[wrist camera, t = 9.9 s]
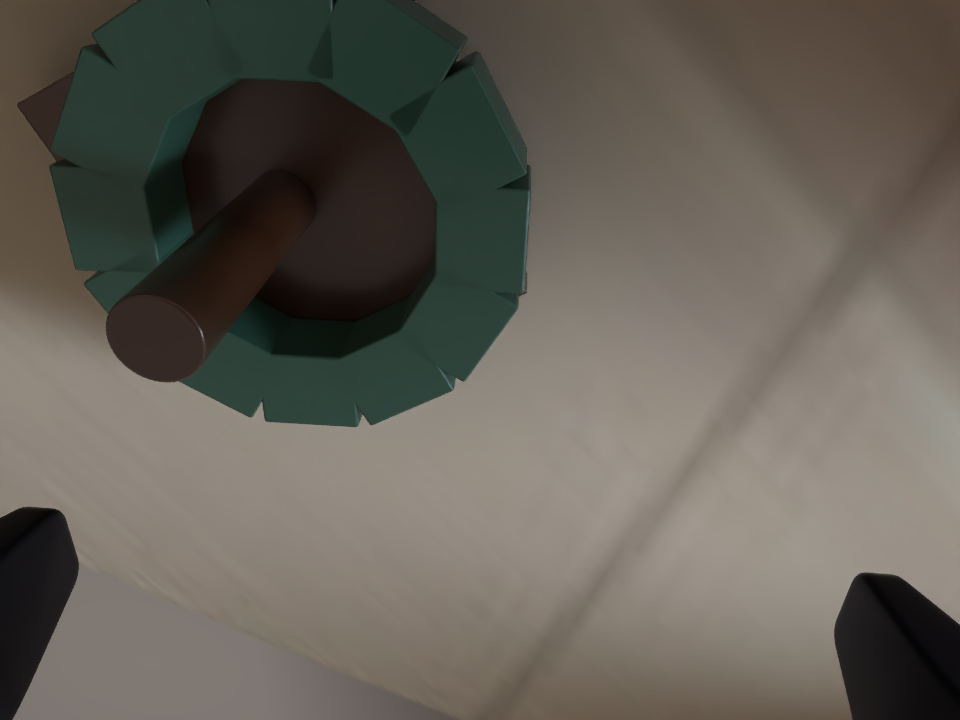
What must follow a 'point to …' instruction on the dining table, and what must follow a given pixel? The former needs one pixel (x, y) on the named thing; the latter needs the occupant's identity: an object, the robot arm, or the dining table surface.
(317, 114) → the peg stand
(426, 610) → the dining table surface
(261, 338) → the ring
